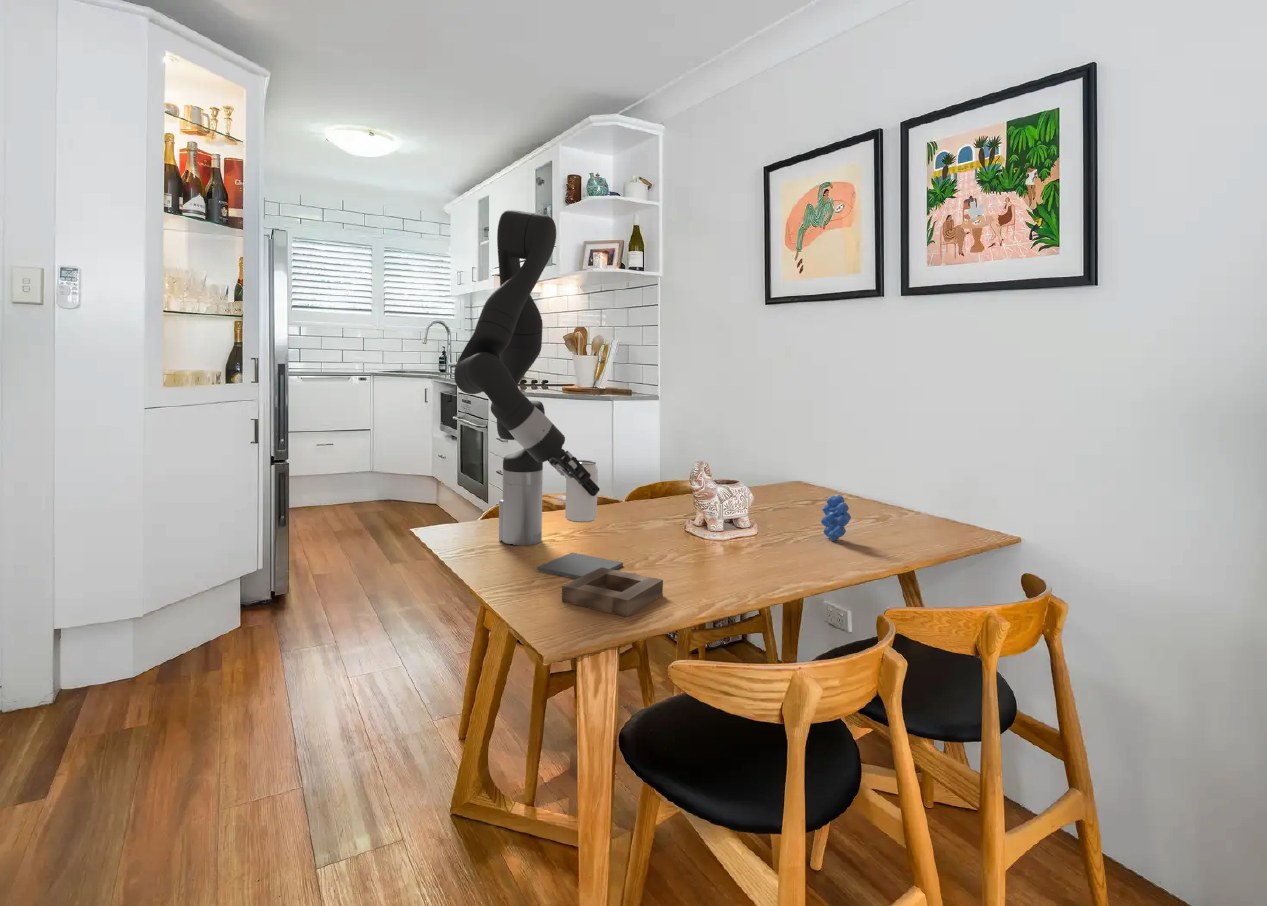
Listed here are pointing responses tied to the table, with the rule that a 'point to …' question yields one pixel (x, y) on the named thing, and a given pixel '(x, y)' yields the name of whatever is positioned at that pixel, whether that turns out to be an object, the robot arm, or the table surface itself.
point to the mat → (577, 565)
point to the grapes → (835, 517)
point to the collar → (600, 595)
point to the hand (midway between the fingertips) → (590, 490)
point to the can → (581, 496)
